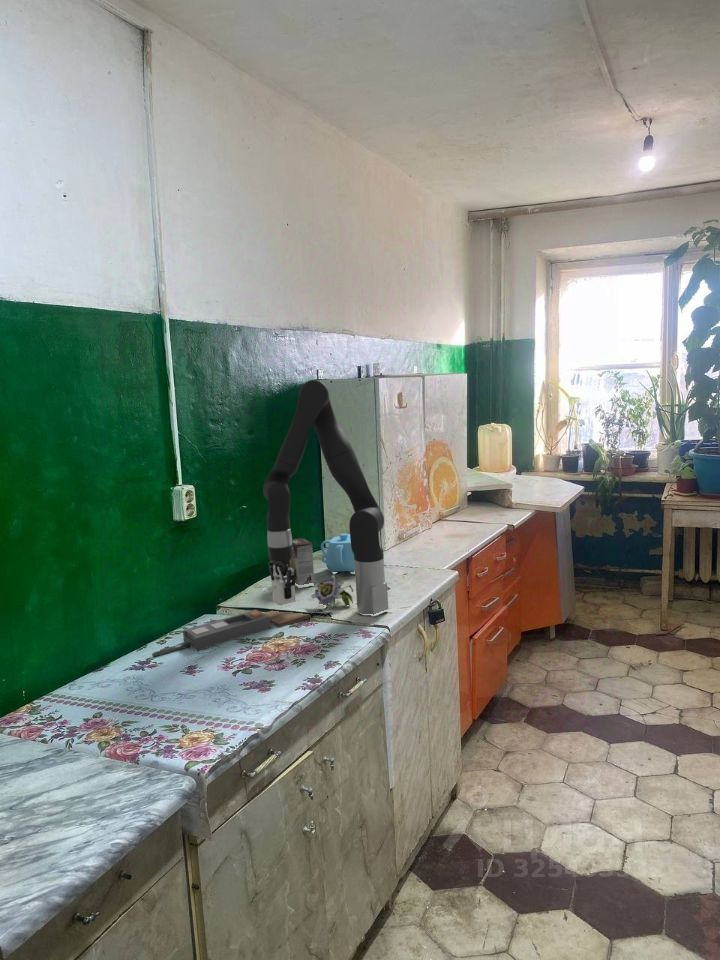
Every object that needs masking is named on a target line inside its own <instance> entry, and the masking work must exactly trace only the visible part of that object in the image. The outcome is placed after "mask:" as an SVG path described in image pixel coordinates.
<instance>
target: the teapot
mask: <svg viewBox="0 0 720 960" xmlns="http://www.w3.org/2000/svg"><path fill="white" fill-rule="evenodd" d="M325 544H328V546H327V550H325V546H324V545H325ZM320 549H321V552H322V554H323V555H322V557H321V561H322V563H324V564H326V567H327V569H328V570H329V571H330V572H332V571H333V572H338V571H339V572H348V573H349V572H354V571H355V564H354V554H353V552H352V549H351V540H350V533H340V534H339V536H335V537H333V538H331V539H330V540H329V539H326V540H324V541H323V542H321V545H320Z"/></svg>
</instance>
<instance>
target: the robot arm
mask: <svg viewBox="0 0 720 960" xmlns="http://www.w3.org/2000/svg"><path fill="white" fill-rule="evenodd" d="M335 415H336V414H335V413H334V408H333V407H332V402H331V400H330V392H329V388H328V386H326V384H325V383H324V382H322V381H321V380H318V379H312V380H311V379H310V380H308V381H306V382H305V383H303V384H302V386H300V388H299V393H298V399H297V404H296V409H295V412H294V417H293V419H292V421H291V424H290V427H289V429H288V431H287V434H286V435H285V438H284V440H283V443H282V445H281V447H280V450H279V452H278V455H277V457H276V460H275V463H274V466H273V467H272V469H271V470H270V472H269V474H268V475H267V477H266V479H265V480H264V484H263V487H262V493H263V496H264V498H265V499H266V500H267V504H268V505H267V506H268V512H267V514H266V526H267V530H266V531H267V535H266V536H267V537H266V538H267V552H268V559H269V560H270V561H268V563H267V566H268V571H269V574H270V580H271V582H272V581H273V580H277V579H281V581H283V586H284V598H285V599H289V598H291V597H292V595H291V586H295V579H296V569H295V568H293V569H292V568H291V565H290V559H291V558H292V557H293V547H292V539H293V536H292V531H291V530H292V529H291V520H290V509H291V492H290V489H289V486H288V483H289V482H290V479H291V477H292V476H294V475H295V474H296V473H297V471H298V469H299V466H300V463H301V461H302V459H303V456H304V454H305V450H306V447H307V444H308V441H309V437H310V434H311V431H312V429H313V427H314V430H315V432H316V434H317V435H316V436H317V439H318V443H319V447H320V448H321V452H322V455H323V458H324V460H325V463H326V466H327V467H328V470H329V472H330V474H331V475H332V477H333V479H334V480H335V482H336V483H337V484H338V485H339V486H340V488H341V489H343V491H344V492H345V494H346V495H347V497H348V498H349V501H350V503H351V505H352V509H353V510H354V513H353V514H352V515H351V517H350V519H349V527H348V528H349V534H350V540H351V549H352V552H353V554H354V564H355V574H354V576H355V577H354V578H355V591H356V607H357V613H358V612H359V613H362V614H373V615H374V614H376V613H379V612H381V611H384V610H387V609H389V595H388V583H387V582H386V575H385V559H384V558H385V557H384V556H385V555H384V554H385V553H384V549H383V548H382V547H381V544H380V534H379V532H380V531H382V529H383V527H384V526H385V525H384V524H385V516H384V514H383V511H382V510H381V508H380V506H379V504H378V502H377V501H376V499H375V497H374V495H373V493H372V491H371V490H370V487H369V485H368V483H367V481H366V478H365V475H364V473H363V470H362V468H361V466H360V462H359V461H358V458H357V455H356V454H355V450H354V448H353V447H352V444H351V443H350V441H349V439H348V437H347V435H346V433H345V432H344V431H343V429H342V427H341V425H340V424H339V422H338V420H337V417H336V416H335ZM284 577H285V578H284ZM286 580H287V582H286ZM291 580H292V582H291ZM359 613H358V614H359Z"/></svg>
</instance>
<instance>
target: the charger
mask: <svg viewBox="0 0 720 960" xmlns="http://www.w3.org/2000/svg"><path fill="white" fill-rule="evenodd" d="M283 577H284V578H285V577H286V576H283ZM286 582H287V580H286ZM291 582H292V580H291ZM295 587H296V586H295V585H294V586H291V595H292V597H291V598H289V599H285V598H284V586H283V581H281V579H277V580H273V581H272V580H271V586H268V587H267V588H266V590H267V591H272V602H273V603H274V604H276V605H278V606H280V607H281V606H284V605H288V604H291V603H294V602H296V590H295V589H296V588H295Z"/></svg>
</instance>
